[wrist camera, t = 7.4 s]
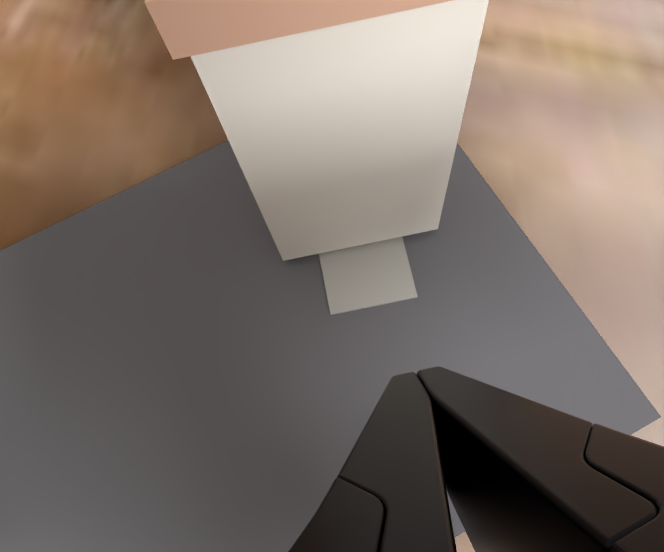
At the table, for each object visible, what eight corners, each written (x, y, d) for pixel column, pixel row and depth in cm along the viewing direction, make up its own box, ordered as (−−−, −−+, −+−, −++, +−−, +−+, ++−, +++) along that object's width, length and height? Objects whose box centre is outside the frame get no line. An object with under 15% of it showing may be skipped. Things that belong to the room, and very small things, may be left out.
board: (394, 76, 23) (395, 57, 22) (645, 420, 17) (662, 416, 16) (-257, 393, 20) (-291, 388, 19) (-212, 919, 15) (-256, 952, 14)
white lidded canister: (446, 234, 19) (529, -80, 8) (277, 268, 19) (144, 3, 8) (406, 96, 21) (431, -290, 10) (254, 128, 21) (127, -222, 10)
